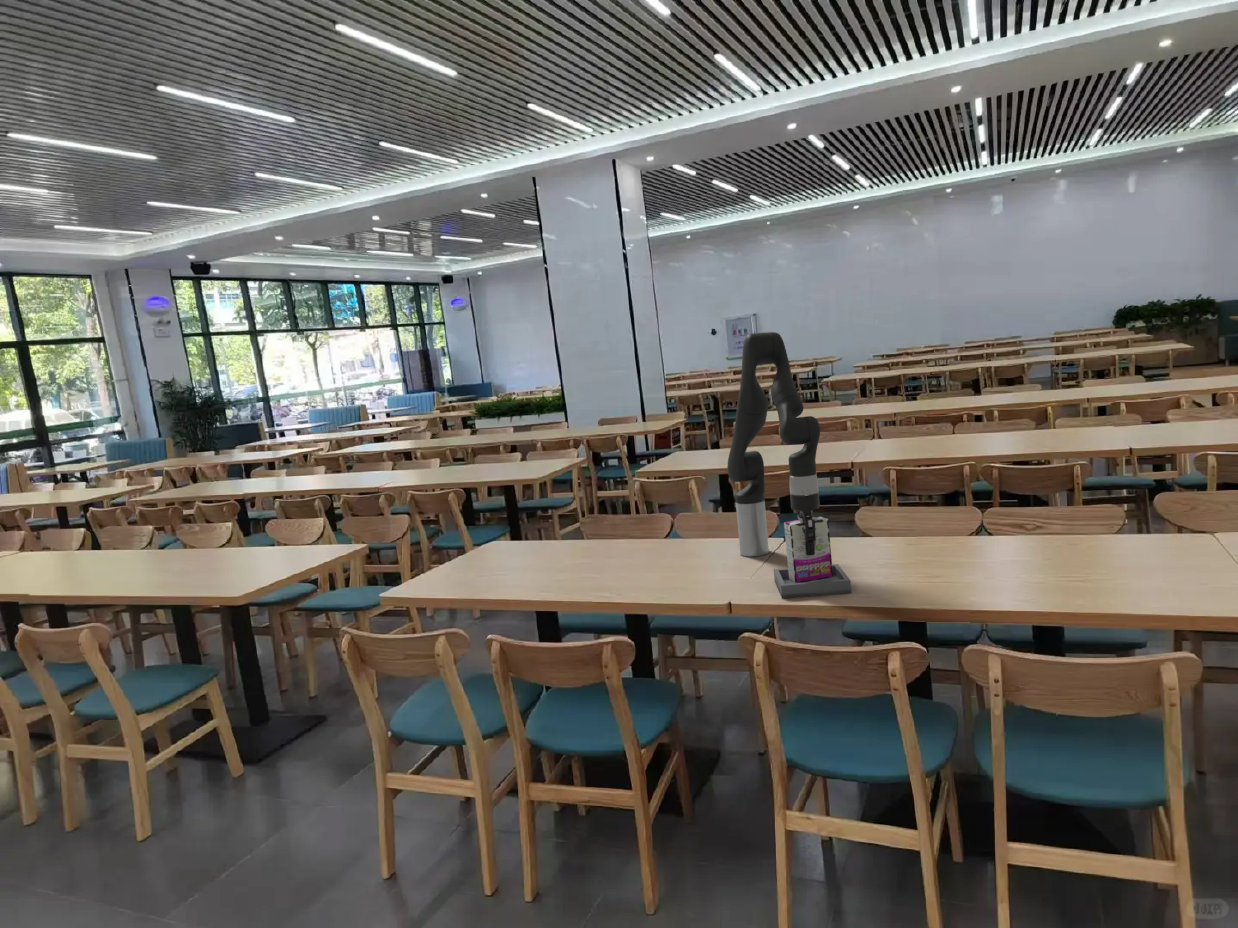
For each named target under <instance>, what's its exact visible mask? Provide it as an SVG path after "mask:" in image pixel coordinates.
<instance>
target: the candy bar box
mask: <svg viewBox="0 0 1238 928" xmlns="http://www.w3.org/2000/svg"><path fill="white" fill-rule="evenodd" d="M814 517H815V516H814ZM829 526H830V524H829V518H826V517H825V516H824V517H823V516H816V517H815V536H816V541H814V549H815V554H814V555H809V556H808V555H807V554H806V546H805V540H804V539H805V537H804V533H803V532H802V528H803V527H804V529H805V525H804V523H800V521H799V520H798V519H795V520H789V521H785V522H783V527H784V536H785V538H784V539H785V548H786V557H787V558H786V560H787V568H788V572H789V580H791V581H792V582H794V583H804V582H810V581H815V580H821V579H827V578H832V577H833V570H832V565H833V562H832V561H833V560H832V550H831V538H830V537H831V536H830V527H829ZM809 536H812V534H811V533H808V537H809Z"/></svg>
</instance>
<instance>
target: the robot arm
mask: <svg viewBox="0 0 1238 928" xmlns="http://www.w3.org/2000/svg"><path fill="white" fill-rule="evenodd" d="M741 358H742V359H741V360H742V361H741V374H740V375H741V378H740V385H739V387H740V388H739V393H738V398H737V407H736V412H735V423H734V430H733V431H734V432H733V437H732V442H731V446H730V450H729V454H728V459H727V475H728V477H729V479H730V481H732V482H733V483H740V482H741V483H742V482H748V484H747V485H746V486H745V487H744V488H742V489H741V490H740V491H737V492H736V493H735V497H734V498H735V508H736V521H737V528H738V529H737V530H738V531H737V533H738V542H739V544H738V545H739V546H738V547H739V554H740V555H741V556H744V557H760V556H765V555H767V554H769V553H770V552H769V551H770V550H769V538H768V525H767V511H766V503H765V494H766V493H765V492H766V487H765V464H764V459H763V456H762V454H761V452H759V450H758V451H757V450H749V451H747V450H748V447H749V446H750V444H751V443H752V442H753V440H754V439H755V438H756V437H757V435H758V434H759V433H760V432H761V430H762V429H763V428H764V425H765V424H766V422H767V421H766V420H767V416H768V411H769V399H768V398H767V395H766V393H765V391H764V390H763V388H762V387H761V385H760V383H759V381H758V379H757V374H756V371H757V367H758V366H764V365H774V366H775V367H776V372H775V375H774V379H773V381H772V385H771V388H770V395H771V399H772V402H773V404H774V406H775V409H776V411H777V415H778V423H779V424H778V425H779V438H780V440H781V441H782V442H783V443H784V444H786V445H787V446H792V445H793V446H794V445H801V444H803V447H802V448H801V449H800V450H798V451H797V452H794V453H791V454H790V455H789V456H788V470H789V471H788V472H789V482H788V484H789V485H788V486H789V497H790V508H791V510H792V511H797V520H799V521H800V523H804V525H805V529H804V527H803V528H802V532H803V533H804V537H805V539H804V540H805V546H806V554H807V555H808V556H809V555H814V554H815V549H814V541H816V536H815V515H813V513H812V511H813V510H817V509H819V508H820V505H821V504H820V494H819V492H820V491H819V481H818V476H817V465H816V464H817V463H816V458H817V456H816V455H817V452H818V451H817V450H818V445H819V440H820V436H821V425H820V423H819V421H818V419H817V418H816V417H814V416H813V415H808V416H801V414H802V413H803V411H804V404H803V401H802V399H801V397H800V395H799V392H798V389H797V387H796V385H795V383H794V379H793V374H792V371H791V365H790V362H789V357H788V353H787V349H786V346H785V342H784V339H783V338H782V335H781V334H780V333H778V332H774V331H770V332H769V331H768V332H766V331H765V332H755V333H749V334H747V335H746V336H745V338H744V341H743V346H742V357H741ZM808 533H811V534H812V536H809V537H808Z"/></svg>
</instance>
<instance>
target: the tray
mask: <svg viewBox="0 0 1238 928" xmlns="http://www.w3.org/2000/svg"><path fill="white" fill-rule="evenodd" d="M832 570H833V577H832V578H827V579H821V580H815V581H810V582H804V583H794V582H792V581H791V580H789V572H788V567H786V568H777V569H775V568H773V580H774V583H775V586H776V588H777V590H778V593H779V595H780V597H781V599H782V598H784V599H794V598H795V599H796V598H806V597H807V598H809V597H819V596H822V597H823V596H830V595H831V596H833V595H845V594H848V595H849V594H852V584H851V579H850V578H849V576H848V575H847V574H846V572H845V571H844V570H843V568H841V566H840V564H839V563H836V564H832Z"/></svg>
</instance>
